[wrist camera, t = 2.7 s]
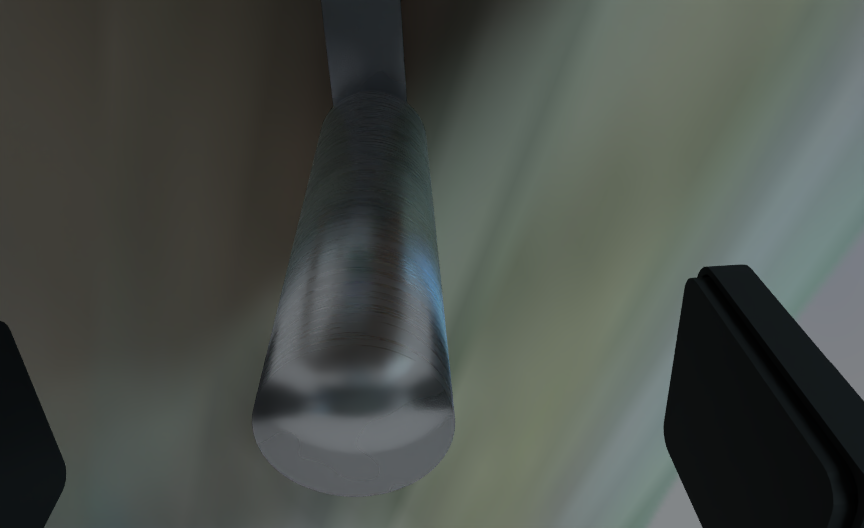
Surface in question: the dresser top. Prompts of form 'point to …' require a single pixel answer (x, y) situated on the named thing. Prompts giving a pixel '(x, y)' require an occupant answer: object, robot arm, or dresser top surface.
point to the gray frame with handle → (361, 285)
